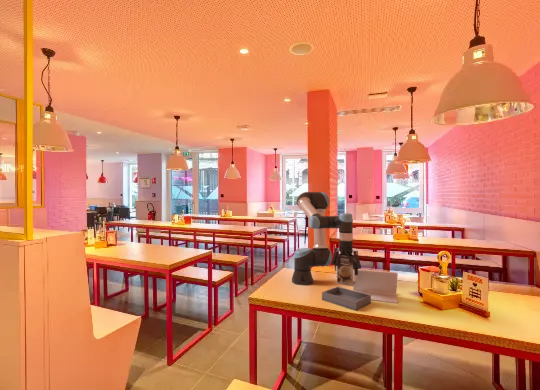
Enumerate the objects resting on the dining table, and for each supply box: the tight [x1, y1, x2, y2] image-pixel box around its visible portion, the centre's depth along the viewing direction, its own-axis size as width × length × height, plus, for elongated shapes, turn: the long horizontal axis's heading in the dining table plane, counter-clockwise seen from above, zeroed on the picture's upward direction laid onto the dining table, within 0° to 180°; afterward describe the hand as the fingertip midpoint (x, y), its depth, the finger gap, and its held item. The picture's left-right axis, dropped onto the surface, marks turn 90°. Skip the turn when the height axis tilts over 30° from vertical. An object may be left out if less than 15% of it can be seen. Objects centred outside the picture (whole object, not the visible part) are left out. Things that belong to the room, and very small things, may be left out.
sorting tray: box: [321, 286, 372, 312], centre depth 160 cm, size 22×16×4 cm
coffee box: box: [336, 254, 355, 287], centre depth 160 cm, size 9×6×16 cm
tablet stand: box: [352, 268, 399, 304], centre depth 170 cm, size 18×25×17 cm
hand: (346, 278), depth 159 cm, fingers closed on coffee box, 10 cm apart
